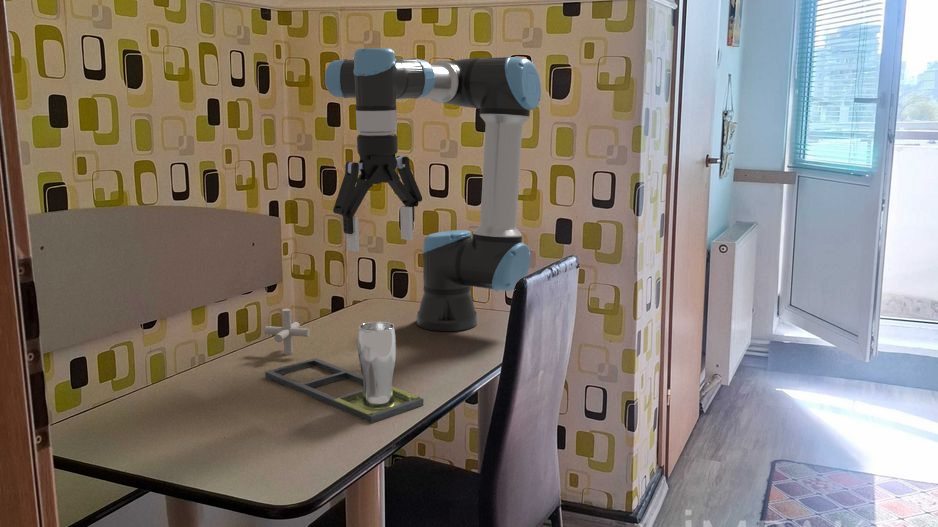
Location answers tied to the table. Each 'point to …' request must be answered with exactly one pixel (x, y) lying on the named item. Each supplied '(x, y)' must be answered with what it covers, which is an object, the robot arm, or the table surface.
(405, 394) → the grey flat frame
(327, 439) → the table surface
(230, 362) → the table surface
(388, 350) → the beer glass
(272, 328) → the pipe connector
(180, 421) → the table surface
